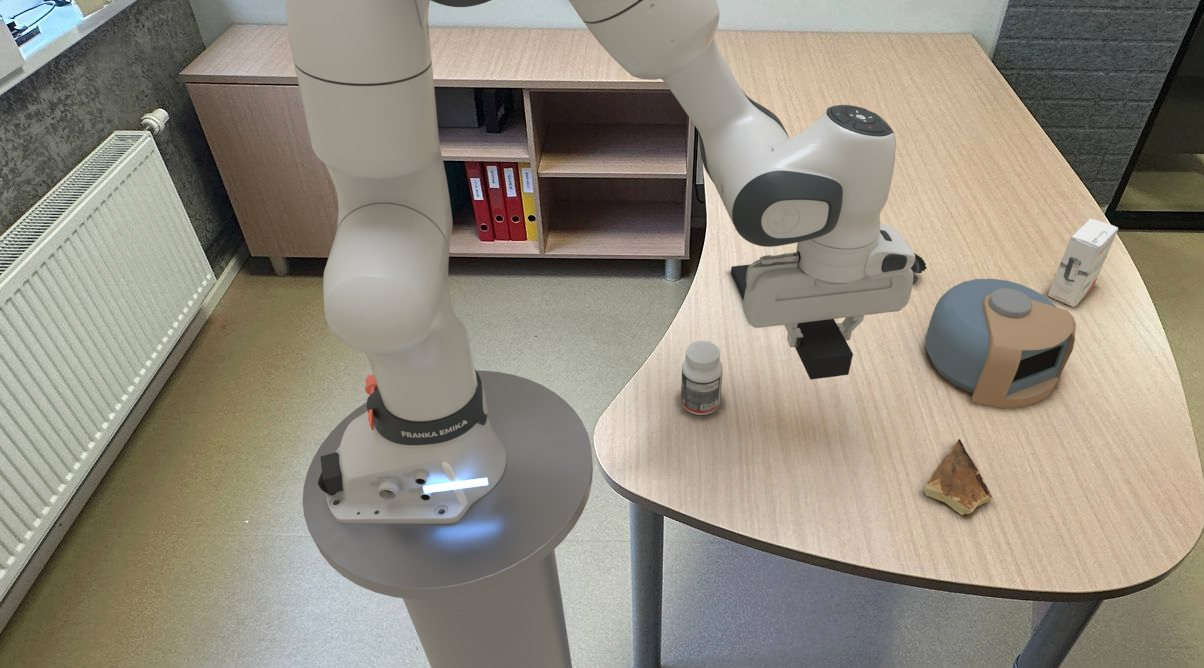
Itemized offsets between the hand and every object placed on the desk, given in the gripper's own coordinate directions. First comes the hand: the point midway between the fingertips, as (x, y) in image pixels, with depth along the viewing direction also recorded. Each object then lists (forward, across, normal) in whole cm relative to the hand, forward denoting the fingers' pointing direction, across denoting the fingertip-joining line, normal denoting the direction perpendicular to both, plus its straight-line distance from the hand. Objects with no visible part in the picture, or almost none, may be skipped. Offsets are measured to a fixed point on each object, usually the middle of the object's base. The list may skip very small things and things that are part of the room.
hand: (818, 340), depth 99 cm
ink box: (+17, +56, +23) cm, 62 cm away
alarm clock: (+16, +33, +8) cm, 38 cm away
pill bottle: (+16, -13, +8) cm, 22 cm away
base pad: (+16, +6, +31) cm, 36 cm away
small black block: (+2, 0, 0) cm, 2 cm away
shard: (+16, +16, -13) cm, 26 cm away
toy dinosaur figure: (+16, +26, +31) cm, 44 cm away
